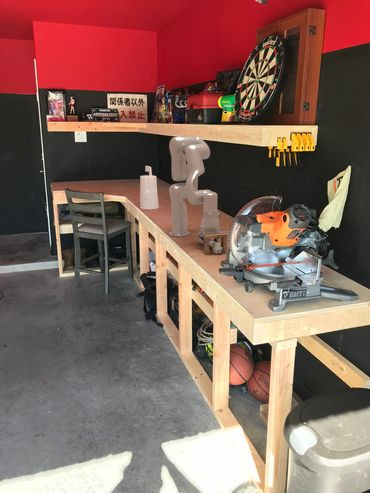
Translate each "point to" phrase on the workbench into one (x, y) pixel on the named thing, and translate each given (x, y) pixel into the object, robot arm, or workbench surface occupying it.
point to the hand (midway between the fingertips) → (210, 247)
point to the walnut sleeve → (214, 235)
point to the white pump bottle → (148, 191)
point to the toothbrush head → (213, 245)
